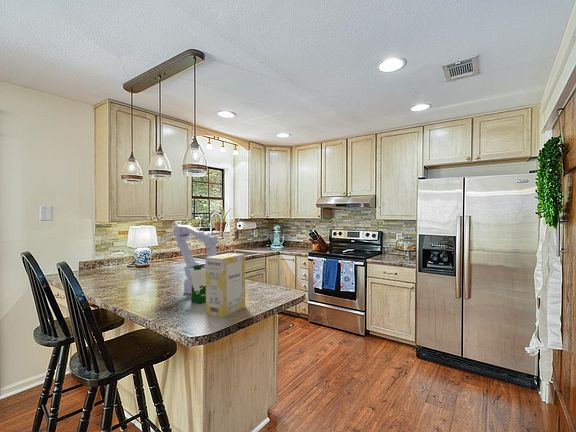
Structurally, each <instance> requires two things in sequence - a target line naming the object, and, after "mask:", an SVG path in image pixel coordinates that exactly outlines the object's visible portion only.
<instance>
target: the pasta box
mask: <svg viewBox="0 0 576 432" xmlns="http://www.w3.org/2000/svg"><path fill="white" fill-rule="evenodd" d="M205 264H206V302H205V314H206V315H208V316H213V317H218V318H225V317H227V316H229V315H231V314H234V313H236V312H238V311H239V310H241V309H244V308H246V254H245V253H237V252H235V253H233V252H227V253H222V254H216V256H210V257H207V256H205Z"/></svg>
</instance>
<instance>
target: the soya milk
mask: <svg viewBox="0 0 576 432" xmlns="http://www.w3.org/2000/svg"><path fill="white" fill-rule="evenodd" d="M190 272H191V278H192V294H191V295H190V297H191V298H190V300H191V301H190V302H191V303H194V304H199V305H200V304H205V303H206V269H205V268H204V267H202V265H201V264H199V265H195V266H194V269H192V270H190Z"/></svg>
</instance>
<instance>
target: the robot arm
mask: <svg viewBox="0 0 576 432" xmlns="http://www.w3.org/2000/svg"><path fill="white" fill-rule="evenodd" d="M172 233H173V236H174V238H175V241H176V244H177V246H178V249H179V250H180V253H181V256H182V259H183V261H184V262H185V267H184V272H185V273H184V274H185V277H186V278H185V279H184V282H183V294H188V295H189V294H190V295H192V278H191V272H190V270H192V269H194V266H195V265H200V264H199V263H198V262H196V260H195V259H194V255H193V254H192V252H191V249H190V247H189V245H188V243H187V239H188V238H189V237H190V235H192V236H195V237H196V239H197V240H198V241H200V242H202V243H203V244H204V247H205V249H206V257H210V256H216V255H217V244H218V242H219V241H218V237H217V236H216V235H214V234H213V235H211V234H210V233H207V232H205V230H200V231H199V230H197V229H195V228H194V227H192V225H190V224H183V225H182V224H181V225H179V224H177V225H175V226H174V227H173V231H172ZM203 268H205V269H206V263H205V264H203Z"/></svg>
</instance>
